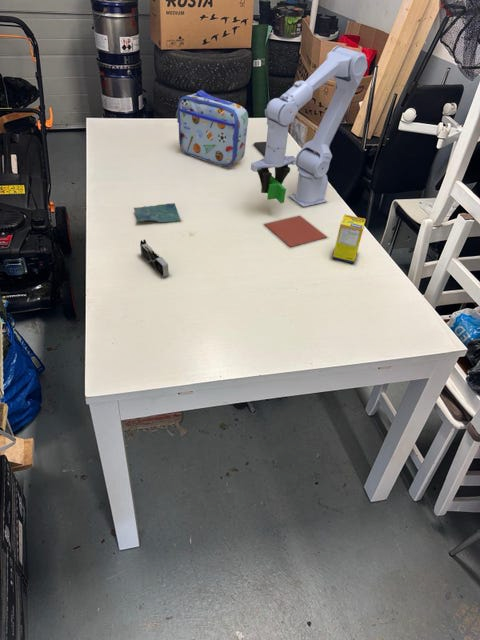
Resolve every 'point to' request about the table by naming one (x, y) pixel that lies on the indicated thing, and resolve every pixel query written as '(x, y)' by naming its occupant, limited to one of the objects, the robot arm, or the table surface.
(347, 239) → the supplement box
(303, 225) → the napkin
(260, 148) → the phone
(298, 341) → the table surface
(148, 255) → the graphics card
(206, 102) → the lunch box
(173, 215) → the terrain model
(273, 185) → the pipe clamp
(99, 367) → the table surface
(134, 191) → the table surface
